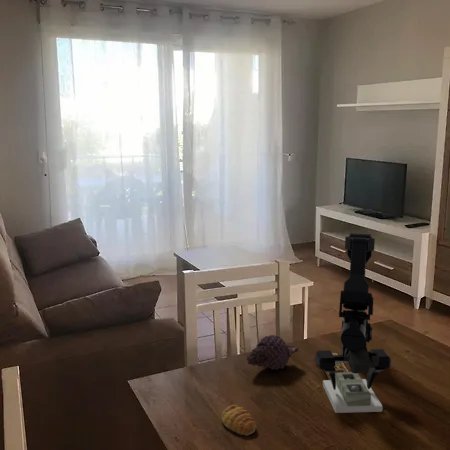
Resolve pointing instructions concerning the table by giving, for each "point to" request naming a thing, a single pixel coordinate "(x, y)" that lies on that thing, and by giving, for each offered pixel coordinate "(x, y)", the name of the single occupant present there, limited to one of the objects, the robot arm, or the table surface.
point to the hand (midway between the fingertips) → (351, 388)
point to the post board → (340, 404)
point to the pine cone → (271, 353)
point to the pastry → (238, 420)
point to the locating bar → (345, 385)
